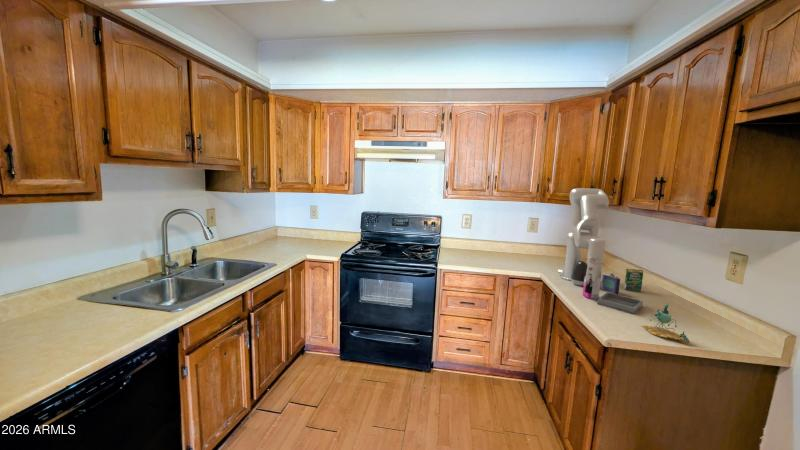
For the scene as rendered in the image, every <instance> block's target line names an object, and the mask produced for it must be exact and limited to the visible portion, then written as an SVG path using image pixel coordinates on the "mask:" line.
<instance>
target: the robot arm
mask: <svg viewBox="0 0 800 450" xmlns="http://www.w3.org/2000/svg"><path fill="white" fill-rule="evenodd" d="M569 202H570V205H571V210H570V212H571V213H570V221H569V223H570V228H571V229H572V230H573V231H569V232H568V233H567V234H566V237H565V238H566V239H565V240H566V251H565V253H566V254H565V259H564V260H565V262H564V269H559V268H558V270H557V273H558V274H561V275H560V277H561V278H562V279H564V280H565V281H566V280H567V281H571V282H572V278H571V275H572V272H573V269H574V267H575V265H576V264H577V263H578V262H579V260H580V261H583V256H584V255H583V251H582V250H581V249H587V256H586V263H587V265H588V266H587V272H586V287H585V292H586V293H590V294H591V293H592V284H593V282H594V283H595V282H597V281H598V279H600V280H602V267H603V263H604V257H605V250H606V249H605V248H606V240H605V239H604V238H603V237H601V236H599V228H600V221H599V220H600V219H599V218H600V217H599V210H606V209H608V207H609V205H610V201H609V197H608V195H607V193H605V192H604V191H603V190H602V189H600V188H592V187H591V188H586V187H582V188H581V187H576V188H573V189H571V190H570V192H569ZM587 231H588V232H587ZM590 279H592V281H591V280H590ZM590 282H591V283H590Z"/></svg>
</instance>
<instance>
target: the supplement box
mask: <svg viewBox="0 0 800 450" xmlns="http://www.w3.org/2000/svg"><path fill="white" fill-rule="evenodd" d="M590 280H591V281H592V279H590ZM590 283H591V282H590ZM585 287H586V276H585V277H584V286H582V296H583V297H585V298H586V299H587V300H598V298H600V297H599V295H600V289H601V279H598V281H597V282H595V283H594V282H593V284H592V293H591V294H590V293H586V292H585Z"/></svg>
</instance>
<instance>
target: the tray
mask: <svg viewBox="0 0 800 450" xmlns="http://www.w3.org/2000/svg"><path fill="white" fill-rule="evenodd" d="M597 305H599V306H603V307H607V308H611V309H614V310H617V311H620V312H624V313H626V314H628V313H629V314H632V315H636V314H637V313H638V312H639V310H641V308H643V305H644V300H640V299H637V298H633V297H629V296H625V295H621V294H618V295H617V294H613V293H610V292H607V291H606V293H603V295H602V296H600V297H599V298H598V299H597Z"/></svg>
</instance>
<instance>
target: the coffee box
mask: <svg viewBox="0 0 800 450" xmlns="http://www.w3.org/2000/svg"><path fill="white" fill-rule="evenodd" d="M643 278H644V270H643V269H635V268H626V272H625V279H624V287H623V288H624V290H625V291H630V292H638V293H642V287H643Z"/></svg>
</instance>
